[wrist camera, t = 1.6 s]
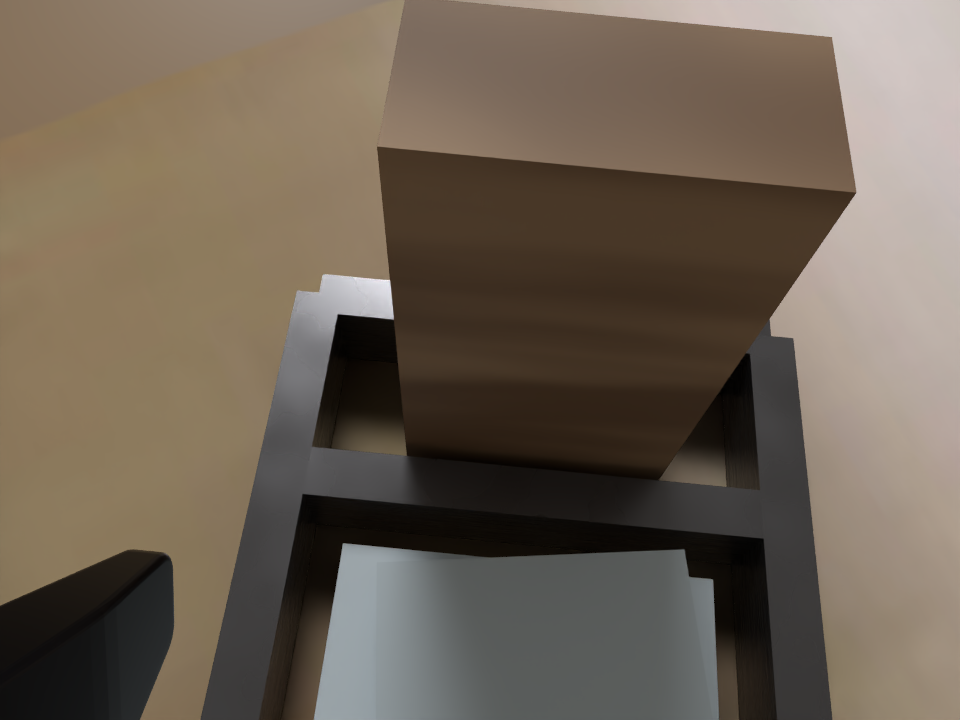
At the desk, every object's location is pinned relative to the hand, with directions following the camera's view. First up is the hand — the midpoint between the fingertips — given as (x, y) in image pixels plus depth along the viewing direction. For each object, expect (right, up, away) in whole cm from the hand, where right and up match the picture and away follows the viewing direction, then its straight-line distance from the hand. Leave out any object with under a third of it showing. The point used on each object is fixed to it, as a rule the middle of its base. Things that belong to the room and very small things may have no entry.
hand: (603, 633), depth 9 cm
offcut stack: (0, -6, +11) cm, 13 cm away
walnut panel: (0, +1, +15) cm, 15 cm away
